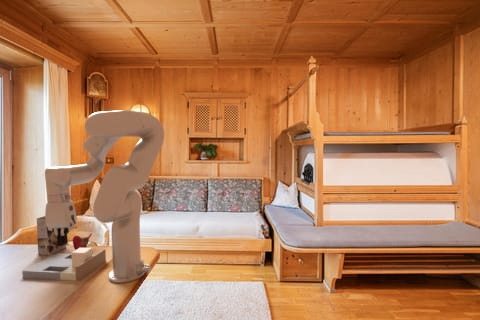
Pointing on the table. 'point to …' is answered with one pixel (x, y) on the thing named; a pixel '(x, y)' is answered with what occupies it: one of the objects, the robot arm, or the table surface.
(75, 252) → the cream block
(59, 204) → the robot arm
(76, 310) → the table surface
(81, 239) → the decorative bird figurine
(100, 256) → the board
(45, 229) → the coffee box
